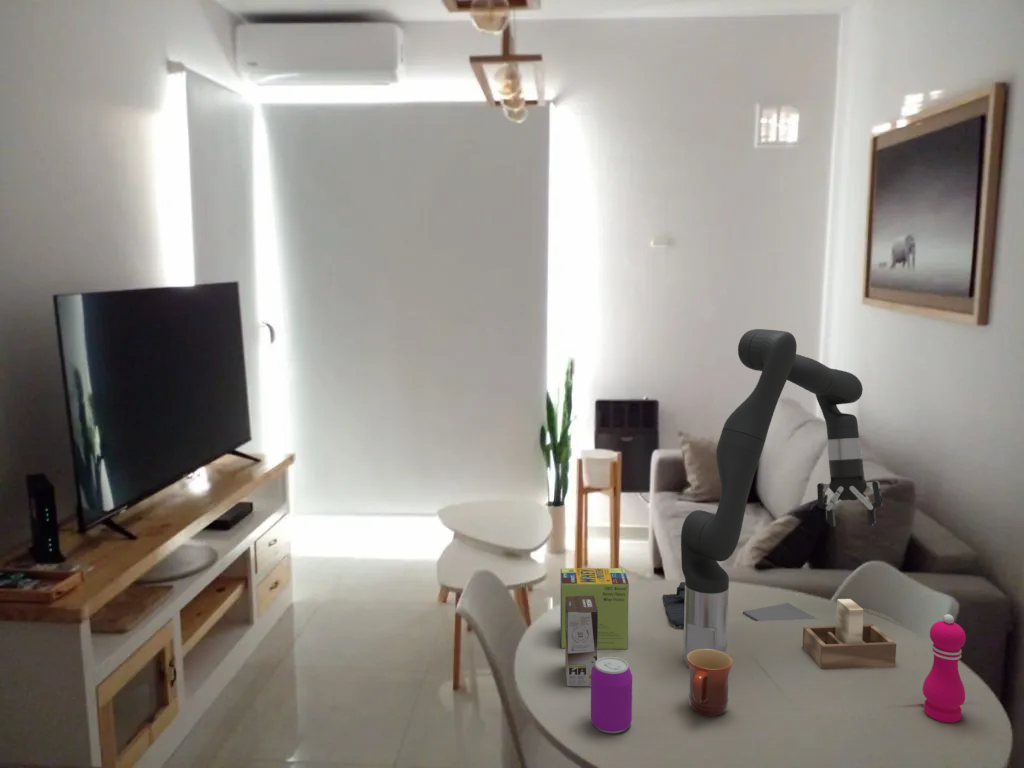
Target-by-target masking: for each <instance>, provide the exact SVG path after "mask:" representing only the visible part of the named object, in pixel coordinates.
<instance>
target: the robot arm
mask: <svg viewBox="0 0 1024 768" xmlns="http://www.w3.org/2000/svg"><path fill="white" fill-rule="evenodd" d="M797 348H798V347H797V339H796V337H795V336H794V335H793V333H791V332H789V331H785V330H776V329H765V328H763V329H762V328H753V329H749V330H748V331H746V332H745V333H743V335H742V336H741V338H740V340H739V341H738V347H737V354H738V359H739V360H740V362H741V364H742V365H743V366H744V367H746V368H747V369H751V370H752V371H756V372H757V371H759V372H761V374H760V376H759V379H758V381H757V384H756V385H755V388H753V391H752V392H751V393H750V395H749V396H748V397H747V398H746V399H745V400H743V402H742V403H741V404H740V405H739V406H737V407H736V408H735V409H734V411H732V412H731V414H730V415H729V416H728V417H727V418H726V420H725V422H724V424H723V427H722V430H721V433H720V436H719V439H718V442H717V446H716V450H715V451H716V452H715V454H716V455H715V457H716V464H717V465H716V466H717V470H718V475H719V479H720V481H719V482H720V497H719V502H718V505H717V509H716V513H712V512H709V511H706V510H702V509H701V510H699V509H698V510H693V511H691V512H690V513H689V514H687V516H686V517H685V519H684V521H683V524H682V526H681V534H680V554H681V555H680V557H681V572H682V573H683V577H684V582H685V606H684V627H683V662H684V661H685V662H684V663H685V667H686V666H687V667H686V668H689V665H688V662H687V658H686V657H687V654H688V653H689V652H691V651H693V650H697V649H713V650H718V651H721V652H724V653H726V654H727V655H728V627H729V625H728V623H729V622H728V621H729V594H730V586H729V585H730V577H729V575H728V572H727V571H726V570H725V569H724V568H723V567H722V566H721V565H720V564H719V562H724V561H727V560H729V559H730V558H731V556H732V555H733V554H734V553H735V550H736V549H737V547H738V543H739V540H740V538H741V531H742V528H743V522H744V519H745V513H746V508H747V503H748V499H749V495H750V492H751V488H752V484H753V481H754V477H755V474H756V470H757V467H758V464H759V461H760V459H761V457H762V454H763V450H764V446H765V443H766V440H767V436H768V433H769V429H770V425H771V422H772V419H773V416H774V413H775V411H776V408H777V404H778V402H779V399H780V397H781V394H782V392H783V389H784V388H785V385H786V383H787V381H788V382H790V383H792V384H794V385H796V386H799V387H800V388H802V389H804V390H805V391H808V392H809V393H812V394H814V395H815V398H816V400H817V403H818V405H819V407H820V410H821V413H822V416H823V418H824V421H825V425H826V433H827V434H826V435H827V456H828V465H829V466H828V467H829V476H830V482H829V483H824V482H821V483H817V486H816V487H817V489H816V490H817V507H818V508H819V509H823V510H825V511H826V517H827V523H828V525H830V527H836V525H837V524H836V522H837V521H836V512H835V510H834V508H835V507H836V505H837V504H838V503H839V501H842V502H844V501H858V500H859V501H860V502H861V503H862V504H864V506H865V507H866V508H867V509H868V510H867V511H866V512H867V521H868V526H869V527H873V526H874V524H876V522H877V518H876V516H877V515H876V509H878V508H881V507H882V506H884V502H883V494H882V490H881V484H880V481H878V480H874V481H869V482H867V481H866V479H865V473H864V472H865V471H864V463H863V462H864V461H863V452H862V445H861V440H860V436H859V435H860V432H859V425H858V423H859V422H858V419H857V416H855V414H851V413H844V412H841V410H840V409H839V407H838V405H846V404H853V403H855V402H857V401H858V400H860V399H861V397H862V395H863V390H864V389H863V384H862V382H861V380H860V379H859V377H857V376H856V375H855V374H853V373H852V372H849V371H846V370H845V371H844V370H842V369H841V370H840V369H836V368H830V366H829V367H828V366H827V365H825V364H823V363H821V362H819V361H817V360H816V359H813V358H811V357H808V356H805V355H802V354H797ZM867 488H869V489H870V491H872V492H873V496H874V502H872V501H871V500H870V498H869V497H868V496H867V494H865V492H866V490H867ZM829 489H830V491H831V492H832V494H833V496H831V499H830V500H829V502H828V503H826V493H827V492H828V491H829Z"/></svg>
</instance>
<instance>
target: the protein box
mask: <svg viewBox="0 0 1024 768" xmlns="http://www.w3.org/2000/svg"><path fill="white" fill-rule="evenodd" d="M629 585H630V584H629V579H628V577H627V574H626V570H625V568H623V567H617V568H615V567H614V568H613V567H609V568H607V567H606V568H605V567H603V568H602V567H586V568H585V567H579V568H578V567H565V568H564V567H563V568H560V592H559V593H560V596H559V597H560V599H559V600H560V606H559V607H560V608H559V609H560V610H559V611H560V613H559V617H560V622H559V623H560V624H559V625H560V627H559V628H560V633H559V634H560V648H561V649H565V596H594V598H595V603H596V606H597V610H598V634H597V650H599V649H601V650H603V649H604V650H628V649H627V648H629V596H630V595H629V592H630V590H629V589H630V587H629Z"/></svg>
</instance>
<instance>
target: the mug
mask: <svg viewBox="0 0 1024 768" xmlns="http://www.w3.org/2000/svg"><path fill="white" fill-rule="evenodd" d="M686 658H687V662H688V665H689V667H688V669H689V687H688V689H689V690H688V697H689V705H690V707H691V708H692V710H694V711H695V712H696V713H698V714H700V715H702V716H706V717H717V716H721V715H722V714H724V713H725V712H726V711H727V708H728V705H729V703H728V702H729V676H730V672H731V670H732V667H733V664H734V661H733V658H732V657H731V656H730V655H729V654H728V653H727V654H726V653H724V652H721V651H718V650H713V649H697V650H693V651H691V652H689V653H688V654H687V657H686Z"/></svg>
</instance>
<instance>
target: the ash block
mask: <svg viewBox="0 0 1024 768" xmlns="http://www.w3.org/2000/svg"><path fill="white" fill-rule="evenodd" d="M835 618H836V619H835V626H836V634H835V636H836V637H837V638H838V639H839V640H840V641H841V642H842V643H843V644H850V643H862V633H863V625H864V609H863V608H862V607H861V606H860V605H858V603H856V602H855V601H854V600H852V599H851V598H838V599H837V600H836V615H835Z"/></svg>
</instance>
